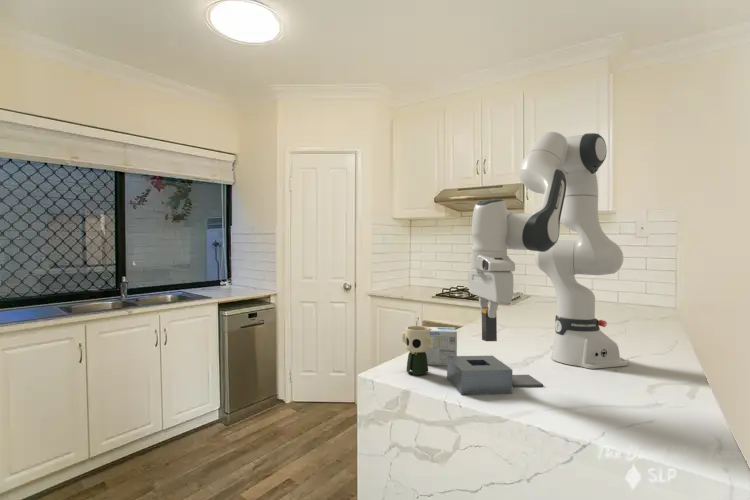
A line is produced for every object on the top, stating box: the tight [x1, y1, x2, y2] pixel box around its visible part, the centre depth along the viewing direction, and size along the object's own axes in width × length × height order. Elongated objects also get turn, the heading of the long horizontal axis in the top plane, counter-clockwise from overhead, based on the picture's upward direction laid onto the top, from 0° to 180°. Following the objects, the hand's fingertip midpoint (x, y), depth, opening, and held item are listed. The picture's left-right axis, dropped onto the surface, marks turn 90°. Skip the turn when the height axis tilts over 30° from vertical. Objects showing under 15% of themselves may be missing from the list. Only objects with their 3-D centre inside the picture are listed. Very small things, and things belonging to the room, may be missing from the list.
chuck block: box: [446, 355, 513, 396], centre depth 111 cm, size 13×18×6 cm
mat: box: [512, 374, 544, 388], centre depth 112 cm, size 8×8×1 cm
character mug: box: [401, 325, 434, 375], centre depth 118 cm, size 11×7×13 cm, turn 49°
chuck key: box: [481, 309, 498, 342], centre depth 105 cm, size 3×3×8 cm
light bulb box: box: [425, 326, 458, 366], centre depth 129 cm, size 11×7×11 cm, turn 84°
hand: (488, 315), depth 105 cm, fingers closed on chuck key, 3 cm apart
